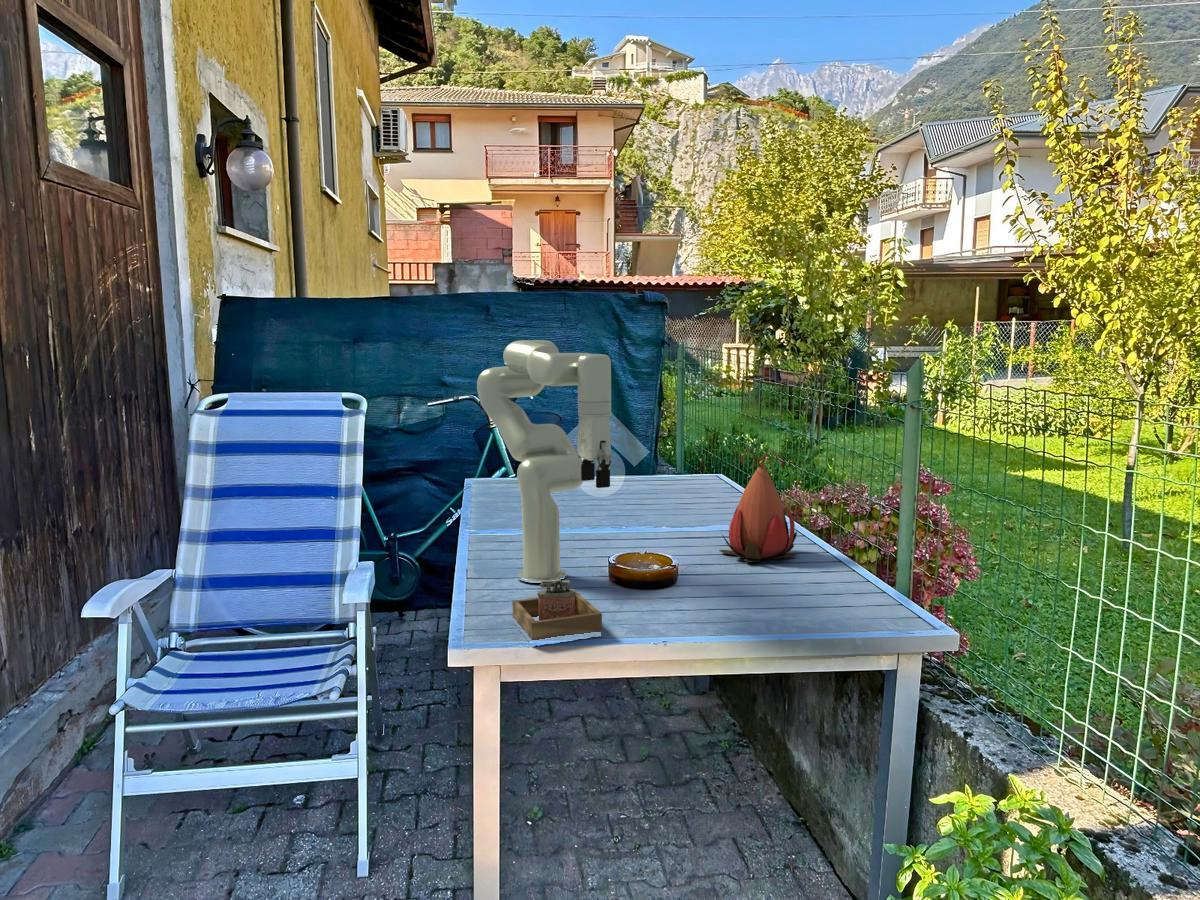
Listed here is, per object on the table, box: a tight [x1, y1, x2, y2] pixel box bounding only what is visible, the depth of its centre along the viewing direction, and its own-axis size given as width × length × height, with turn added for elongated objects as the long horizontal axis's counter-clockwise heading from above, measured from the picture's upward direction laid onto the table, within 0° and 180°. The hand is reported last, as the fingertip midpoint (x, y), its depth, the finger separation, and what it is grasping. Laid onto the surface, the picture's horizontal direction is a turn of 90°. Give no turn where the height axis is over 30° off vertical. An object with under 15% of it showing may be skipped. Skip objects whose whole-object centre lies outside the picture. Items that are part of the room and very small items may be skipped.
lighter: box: [537, 579, 577, 621], centre depth 168 cm, size 8×3×10 cm, turn 97°
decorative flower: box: [718, 449, 798, 563], centre depth 223 cm, size 22×23×30 cm
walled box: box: [512, 592, 603, 640], centre depth 169 cm, size 15×15×5 cm
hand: (595, 483), depth 182 cm, fingers open, 9 cm apart
